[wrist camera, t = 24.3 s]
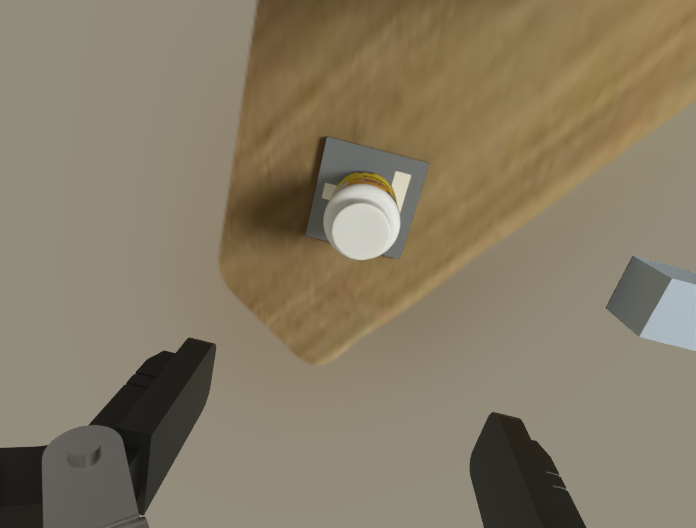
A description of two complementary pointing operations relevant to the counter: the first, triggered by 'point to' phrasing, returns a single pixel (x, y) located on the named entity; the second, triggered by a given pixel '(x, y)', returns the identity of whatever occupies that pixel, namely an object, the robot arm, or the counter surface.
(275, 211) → the counter surface
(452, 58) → the counter surface
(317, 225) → the board
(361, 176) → the supplement bottle
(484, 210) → the counter surface
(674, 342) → the blue block
